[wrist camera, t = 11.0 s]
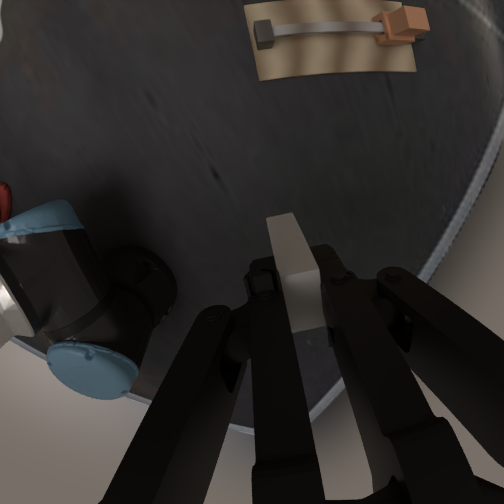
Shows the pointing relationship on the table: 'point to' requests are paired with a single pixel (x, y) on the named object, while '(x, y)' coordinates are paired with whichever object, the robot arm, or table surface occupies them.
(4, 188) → the red rounded piece
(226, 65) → the table surface
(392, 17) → the brown stepped block
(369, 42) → the rail board
